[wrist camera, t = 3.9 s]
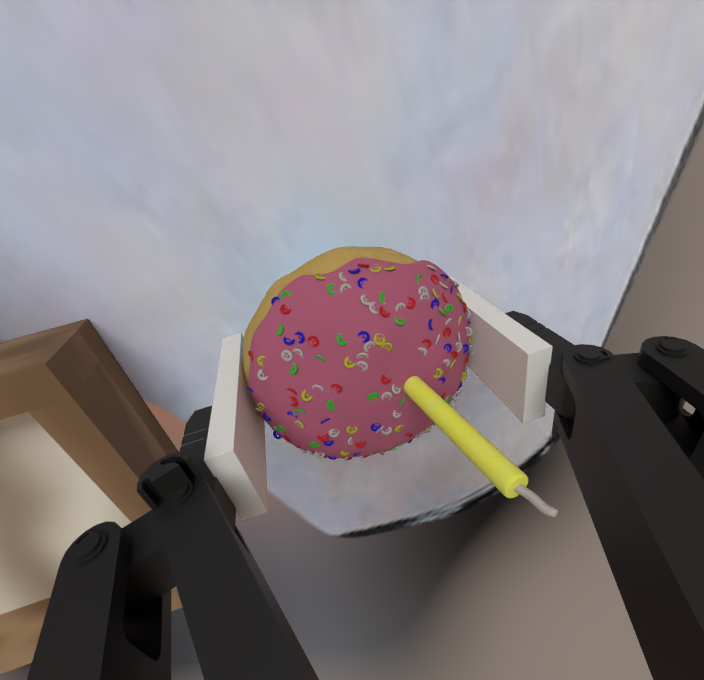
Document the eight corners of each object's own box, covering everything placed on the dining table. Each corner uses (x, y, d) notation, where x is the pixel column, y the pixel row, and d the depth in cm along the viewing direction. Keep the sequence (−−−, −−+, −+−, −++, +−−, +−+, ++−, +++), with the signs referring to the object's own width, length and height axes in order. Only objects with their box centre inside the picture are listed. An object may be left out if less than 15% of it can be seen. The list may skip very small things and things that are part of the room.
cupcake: (381, 184, 15) (665, 279, 5) (441, 334, 19) (653, 551, 9) (204, 286, 15) (100, 591, 5) (305, 411, 20) (361, 704, 9)
